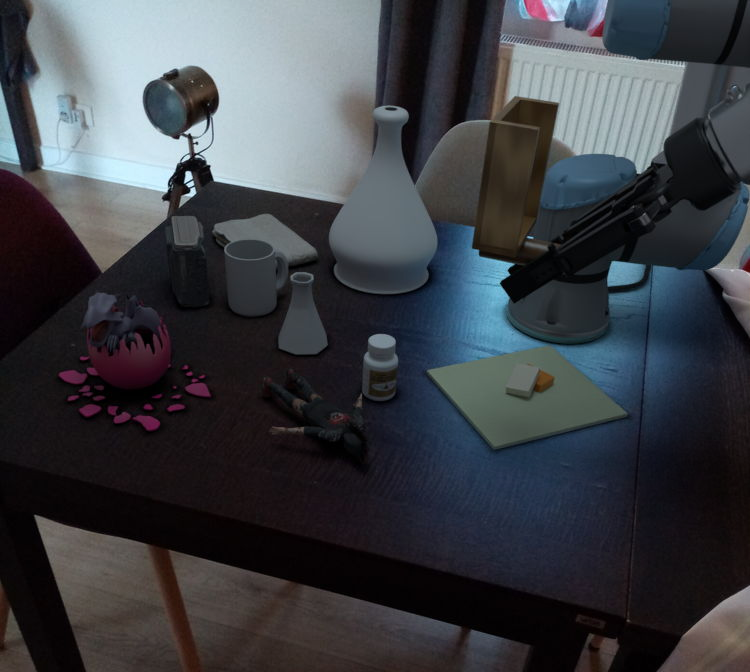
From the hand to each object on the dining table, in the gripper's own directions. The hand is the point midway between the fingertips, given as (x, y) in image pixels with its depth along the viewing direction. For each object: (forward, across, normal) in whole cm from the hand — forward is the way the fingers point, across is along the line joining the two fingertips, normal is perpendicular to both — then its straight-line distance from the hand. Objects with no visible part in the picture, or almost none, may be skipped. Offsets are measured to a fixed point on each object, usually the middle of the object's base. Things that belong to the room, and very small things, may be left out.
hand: (511, 285), depth 85 cm
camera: (+50, -15, -23) cm, 57 cm away
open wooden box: (-4, 0, -10) cm, 11 cm away
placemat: (+12, -10, +15) cm, 22 cm away
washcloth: (+47, -34, -21) cm, 62 cm away
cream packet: (+10, -10, +13) cm, 19 cm away
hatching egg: (+45, +10, -17) cm, 49 cm away
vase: (+33, -35, -6) cm, 48 cm away
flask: (+34, -9, -7) cm, 36 cm away
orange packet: (+10, -12, +14) cm, 21 cm away
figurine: (+27, +9, +1) cm, 28 cm away
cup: (+42, -17, -15) cm, 47 cm away
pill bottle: (+24, -2, +3) cm, 25 cm away
